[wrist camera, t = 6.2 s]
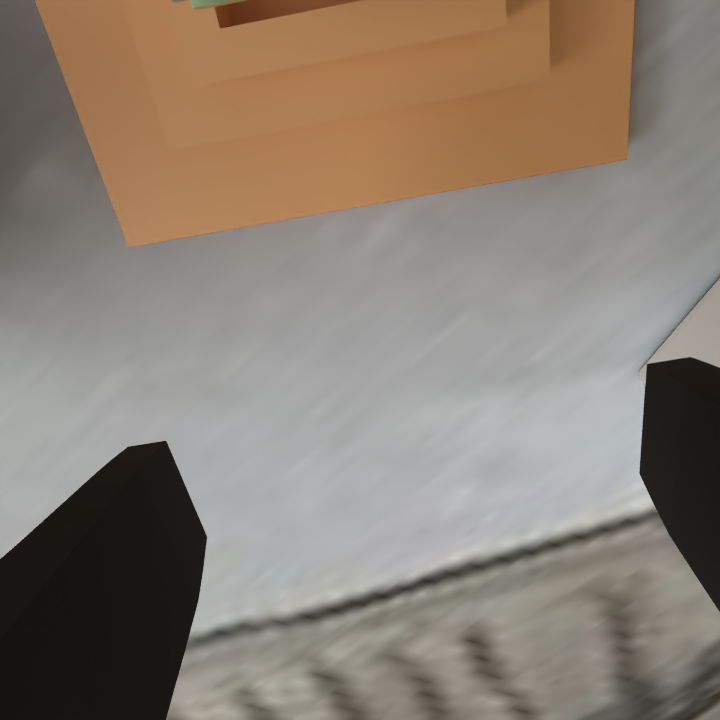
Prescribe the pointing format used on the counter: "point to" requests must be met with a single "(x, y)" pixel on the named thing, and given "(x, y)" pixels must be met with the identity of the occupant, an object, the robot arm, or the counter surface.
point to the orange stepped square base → (334, 101)
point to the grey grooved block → (208, 3)
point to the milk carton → (694, 334)
